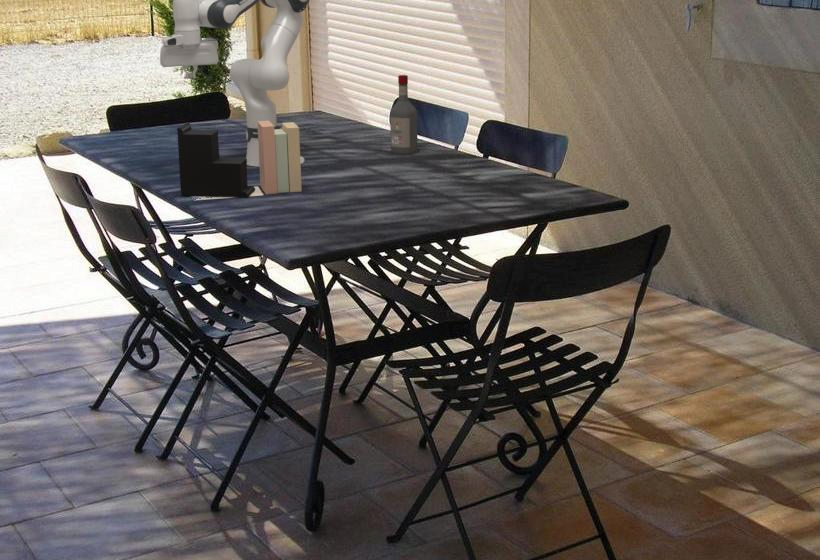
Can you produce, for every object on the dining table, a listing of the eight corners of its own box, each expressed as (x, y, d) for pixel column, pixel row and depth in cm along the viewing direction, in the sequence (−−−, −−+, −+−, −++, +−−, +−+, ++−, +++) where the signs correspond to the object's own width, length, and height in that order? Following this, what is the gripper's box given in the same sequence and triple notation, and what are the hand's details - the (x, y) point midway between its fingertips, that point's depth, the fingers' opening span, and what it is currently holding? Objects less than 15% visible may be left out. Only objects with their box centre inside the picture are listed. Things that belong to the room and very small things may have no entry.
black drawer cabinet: (255, 190, 418) (252, 122, 411) (247, 197, 408) (244, 128, 401) (189, 189, 421) (185, 122, 414) (180, 196, 410) (175, 127, 403)
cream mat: (257, 187, 424) (257, 186, 424) (264, 196, 411) (263, 195, 411) (188, 192, 418) (188, 191, 418) (192, 201, 405) (192, 200, 405)
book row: (295, 184, 426) (293, 119, 419) (301, 191, 415) (299, 124, 408) (260, 187, 423) (257, 121, 416) (265, 194, 412) (262, 126, 405)
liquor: (407, 155, 472) (406, 77, 463) (388, 153, 477) (386, 76, 468) (420, 151, 479) (419, 75, 471) (401, 149, 484) (399, 73, 475)
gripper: (216, 36, 430) (219, 75, 434) (157, 39, 425) (161, 78, 429) (218, 38, 424) (221, 77, 429) (159, 41, 419) (162, 81, 423)
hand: (190, 78), depth 429 cm, fingers closed
